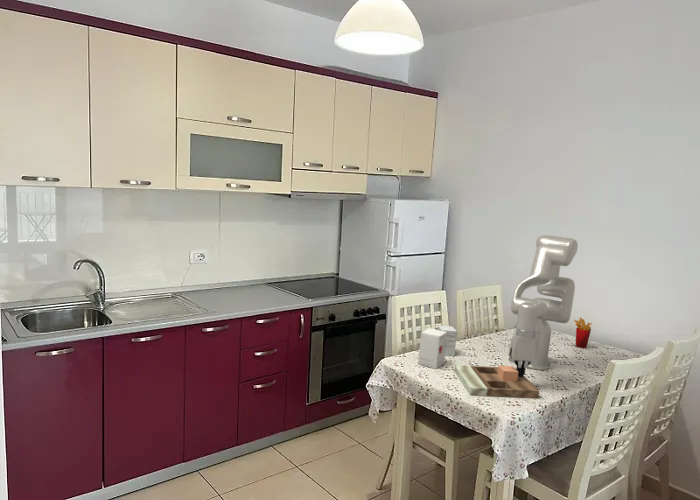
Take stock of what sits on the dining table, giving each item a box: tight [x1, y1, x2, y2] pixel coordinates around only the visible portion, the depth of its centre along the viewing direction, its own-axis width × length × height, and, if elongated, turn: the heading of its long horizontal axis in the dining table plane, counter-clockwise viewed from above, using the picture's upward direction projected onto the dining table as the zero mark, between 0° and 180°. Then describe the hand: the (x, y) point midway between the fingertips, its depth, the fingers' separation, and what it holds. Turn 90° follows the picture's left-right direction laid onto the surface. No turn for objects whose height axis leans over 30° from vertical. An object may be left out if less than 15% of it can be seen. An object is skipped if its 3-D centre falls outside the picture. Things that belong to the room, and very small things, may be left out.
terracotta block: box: [498, 365, 518, 381], centre depth 212 cm, size 6×6×4 cm
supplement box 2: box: [437, 325, 458, 357], centre depth 245 cm, size 7×7×13 cm
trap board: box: [454, 364, 540, 399], centre depth 212 cm, size 27×24×3 cm
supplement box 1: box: [417, 327, 447, 370], centre depth 229 cm, size 9×9×15 cm
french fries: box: [574, 317, 593, 349], centre depth 272 cm, size 9×8×15 cm
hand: (520, 376), depth 212 cm, fingers closed
